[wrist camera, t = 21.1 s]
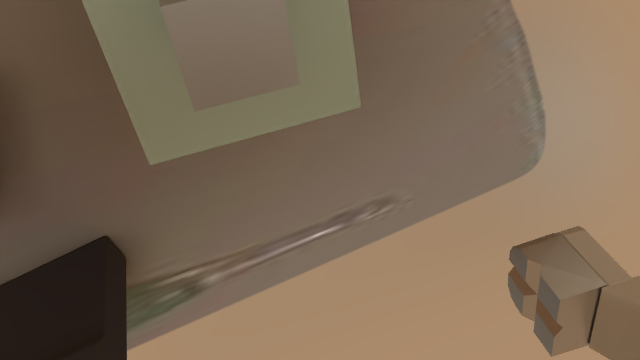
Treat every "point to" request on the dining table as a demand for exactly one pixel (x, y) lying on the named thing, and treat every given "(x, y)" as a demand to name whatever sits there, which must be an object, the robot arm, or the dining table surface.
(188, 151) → the lid
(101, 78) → the dining table surface
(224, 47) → the block
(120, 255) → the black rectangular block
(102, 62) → the dining table surface
